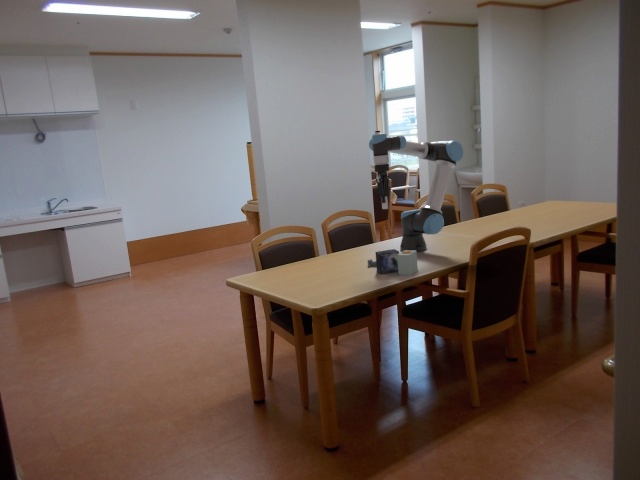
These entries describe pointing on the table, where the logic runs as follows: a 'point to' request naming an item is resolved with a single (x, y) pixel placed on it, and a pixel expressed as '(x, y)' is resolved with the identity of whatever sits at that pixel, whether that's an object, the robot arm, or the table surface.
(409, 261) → the end cabinet
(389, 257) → the small box
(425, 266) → the table surface
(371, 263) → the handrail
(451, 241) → the table surface
